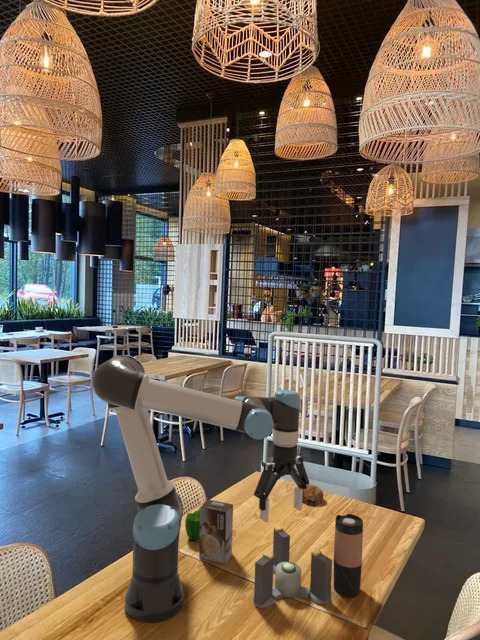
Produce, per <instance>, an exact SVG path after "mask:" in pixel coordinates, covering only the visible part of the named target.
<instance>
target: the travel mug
mask: <svg viewBox="0 0 480 640" xmlns="http://www.w3.org/2000/svg"><path fill="white" fill-rule="evenodd" d="M334 523H335V524H334V525H335V526H334V543H333V545H334V546H333V590H334V592H336V593H335V594H338V596H341V597H344V598H350V599H351V598H355V597H358V596H359V594H360V593H361V581H362V568H363V567H362V566H363V542H364V541H363V537H364V534H363V531H364V520H363V519H362V518H361V517H360V516H358V515H356V514H353V513H347V514H345V515H341V514H337V515H336V516H335V522H334Z"/></svg>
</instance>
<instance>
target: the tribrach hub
mask: <svg viewBox="0 0 480 640" xmlns="http://www.w3.org/2000/svg"><path fill="white" fill-rule="evenodd" d="M301 582H302V568H301V567H300V565H298V564H297V563H294V562H291V561H289V562H281V563H279V564H278V565H277V566H276V574H275V583H274V584H275V585H274V587H275V588H274V587H273V592H272V597H273V601H277V600H278V599H281V598H282V597H284V598H287V599H288V598H289V599H291V598H296V597H303V598H306V599H309V596H310V595H311V592H310V587H305V586H302V583H301Z"/></svg>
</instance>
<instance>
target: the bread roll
mask: <svg viewBox="0 0 480 640" xmlns="http://www.w3.org/2000/svg"><path fill="white" fill-rule="evenodd" d="M306 486H307V488H306V489H304V495H303V498H302V503H303V502H304V503H303V504H306V503H307V505H318V504H321V503H322V502H323V501H324V492H323V490H322V489H321V488H320V487H319V486H318V485H316V484H313V483H309V485H306Z"/></svg>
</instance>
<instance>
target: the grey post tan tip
mask: <svg viewBox="0 0 480 640" xmlns="http://www.w3.org/2000/svg"><path fill="white" fill-rule="evenodd" d="M310 555H311V559H310V560H311V562H310V586H309V589H310V594H309V596H310V600H311V602H313V603H315V605H316V604H317V605H321V606H322V605H324V606H325V605H328V604H329V603H330V602H331V599H332V597H331V596H332V575H333V574H332V573H333V572H332V571H333V559H331V558H329V557H328V556H326V555H325V554H323V551H322V550H320V549H318V548H316V549H315V550H312V551H311V554H310Z"/></svg>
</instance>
